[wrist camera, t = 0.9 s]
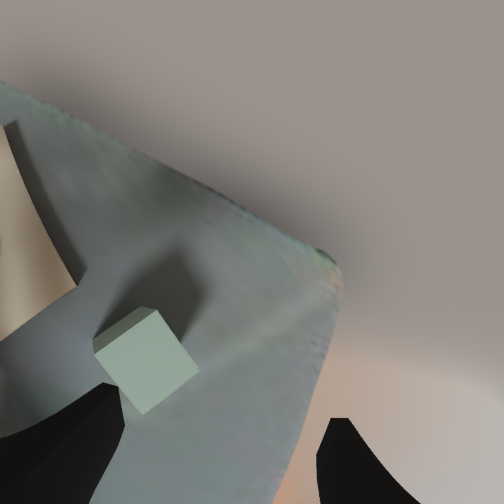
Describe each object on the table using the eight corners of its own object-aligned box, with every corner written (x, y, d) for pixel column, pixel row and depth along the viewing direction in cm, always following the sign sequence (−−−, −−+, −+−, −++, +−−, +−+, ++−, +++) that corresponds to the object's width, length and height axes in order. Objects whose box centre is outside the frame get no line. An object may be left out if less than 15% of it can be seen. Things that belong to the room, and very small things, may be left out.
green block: (128, 387, 21) (142, 415, 16) (92, 339, 20) (94, 354, 15) (173, 353, 23) (200, 370, 18) (140, 305, 22) (156, 309, 17)
